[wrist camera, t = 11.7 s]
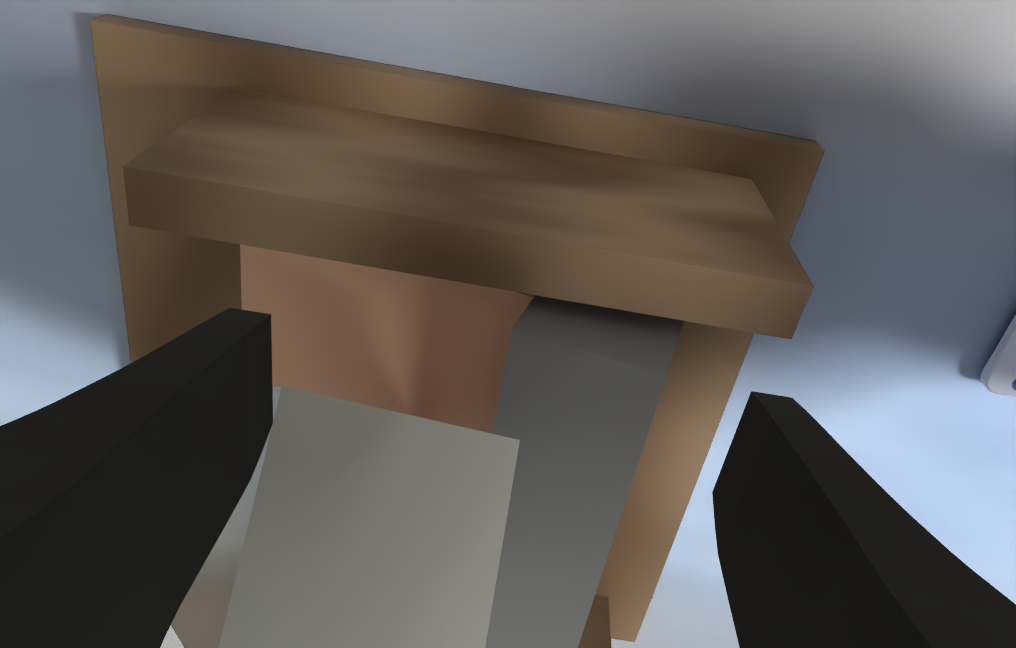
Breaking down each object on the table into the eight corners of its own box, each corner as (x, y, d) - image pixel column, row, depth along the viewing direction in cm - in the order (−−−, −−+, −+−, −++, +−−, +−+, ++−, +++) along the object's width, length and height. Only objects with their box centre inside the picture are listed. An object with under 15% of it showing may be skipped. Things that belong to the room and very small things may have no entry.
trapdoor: (690, 301, 17) (666, 376, 14) (564, 687, 24) (532, 784, 21) (287, 179, 19) (200, 224, 16) (283, 568, 26) (223, 644, 23)
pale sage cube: (412, 437, 19) (519, 440, 14) (373, 633, 18) (476, 699, 13) (223, 397, 17) (282, 385, 12) (166, 616, 15) (208, 688, 11)
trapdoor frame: (815, 140, 20) (913, 252, 14) (633, 623, 30) (648, 801, 24) (107, 14, 19) (-83, 77, 14) (164, 548, 29) (69, 711, 23)
